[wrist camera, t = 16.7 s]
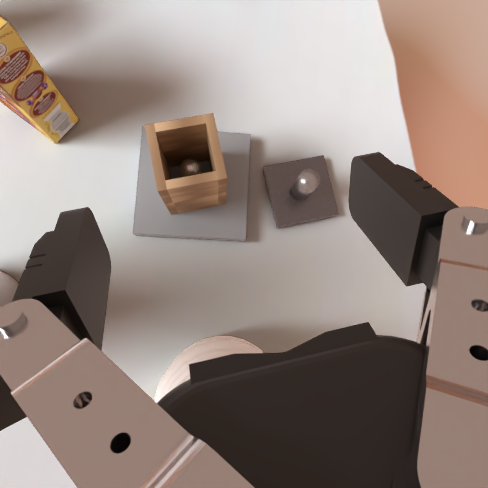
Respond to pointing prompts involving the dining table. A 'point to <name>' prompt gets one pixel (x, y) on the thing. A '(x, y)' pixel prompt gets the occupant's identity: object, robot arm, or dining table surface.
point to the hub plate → (202, 220)
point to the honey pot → (201, 359)
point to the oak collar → (179, 149)
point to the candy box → (31, 88)
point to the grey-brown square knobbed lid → (300, 191)
